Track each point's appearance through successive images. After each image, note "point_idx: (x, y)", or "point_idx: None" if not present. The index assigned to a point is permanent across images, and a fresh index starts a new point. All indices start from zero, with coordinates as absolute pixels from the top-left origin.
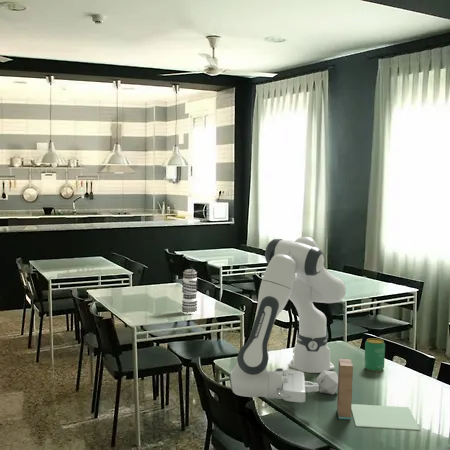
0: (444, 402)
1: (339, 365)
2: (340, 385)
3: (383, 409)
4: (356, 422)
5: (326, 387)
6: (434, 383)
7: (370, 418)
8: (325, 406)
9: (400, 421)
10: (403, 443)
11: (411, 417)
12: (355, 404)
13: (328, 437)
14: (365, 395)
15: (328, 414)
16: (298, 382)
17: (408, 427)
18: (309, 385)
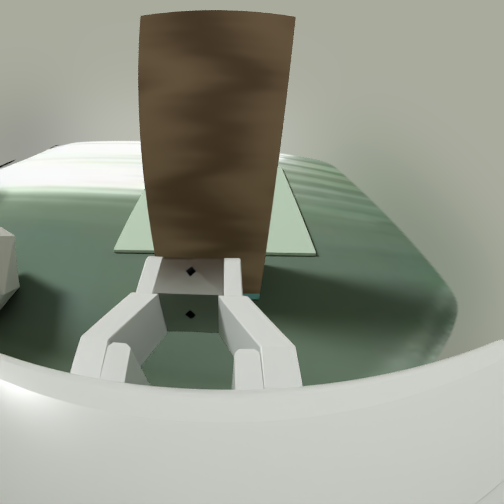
0: (139, 141)
1: (208, 33)
2: (279, 143)
3: None
4: (288, 249)
5: (4, 283)
6: (62, 148)
7: None
8: None
9: None
10: (359, 195)
11: None
12: (121, 237)
13: (439, 329)
14: (60, 215)
15: (218, 335)
16: (264, 498)
17: (277, 175)
18: (132, 349)
